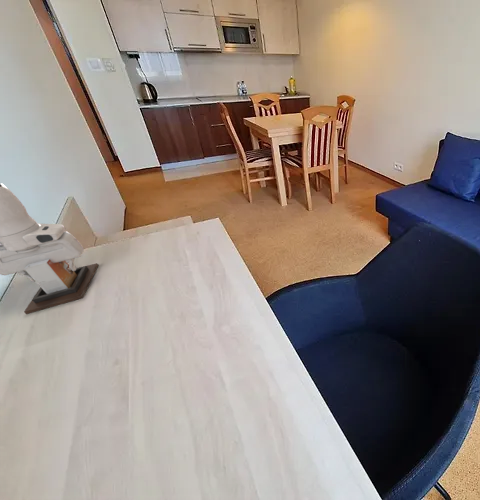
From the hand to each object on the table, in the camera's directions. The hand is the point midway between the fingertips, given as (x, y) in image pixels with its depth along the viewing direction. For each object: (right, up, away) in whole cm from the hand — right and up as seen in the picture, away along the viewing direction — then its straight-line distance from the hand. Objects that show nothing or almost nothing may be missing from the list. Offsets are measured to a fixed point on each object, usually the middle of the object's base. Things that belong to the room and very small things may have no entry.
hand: (55, 275), depth 92 cm
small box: (0, -3, +2) cm, 4 cm away
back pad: (0, -4, +3) cm, 5 cm away
